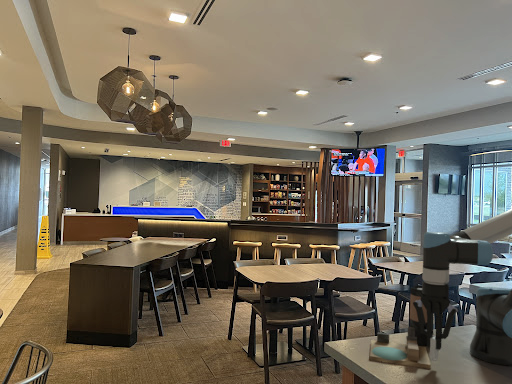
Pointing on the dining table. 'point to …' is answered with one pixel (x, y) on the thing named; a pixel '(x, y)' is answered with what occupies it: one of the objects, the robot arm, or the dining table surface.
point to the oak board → (384, 342)
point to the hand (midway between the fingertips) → (433, 358)
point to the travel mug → (414, 322)
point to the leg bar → (412, 348)
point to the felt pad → (389, 353)
